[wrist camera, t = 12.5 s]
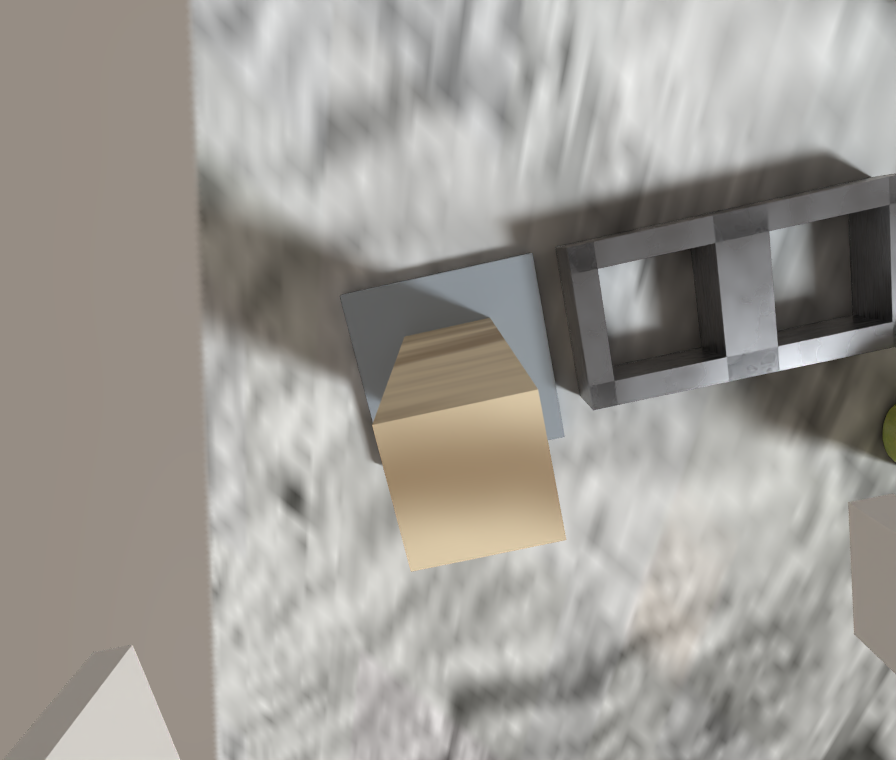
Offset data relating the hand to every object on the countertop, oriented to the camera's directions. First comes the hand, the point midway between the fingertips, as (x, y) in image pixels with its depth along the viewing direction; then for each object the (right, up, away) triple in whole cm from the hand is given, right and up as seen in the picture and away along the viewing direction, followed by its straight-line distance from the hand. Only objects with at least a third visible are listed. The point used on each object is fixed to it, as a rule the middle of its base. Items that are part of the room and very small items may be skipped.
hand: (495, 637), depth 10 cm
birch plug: (0, +5, +22) cm, 23 cm away
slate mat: (0, +6, +23) cm, 24 cm away
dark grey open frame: (+15, +10, +23) cm, 29 cm away
